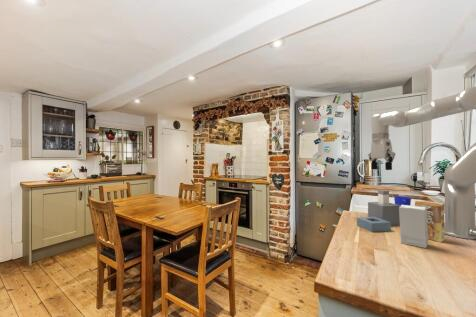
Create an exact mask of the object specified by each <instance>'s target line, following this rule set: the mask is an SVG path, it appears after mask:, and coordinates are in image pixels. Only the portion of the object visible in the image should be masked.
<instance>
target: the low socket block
mask: <svg viewBox="0 0 476 317" xmlns="http://www.w3.org/2000/svg"><path fill="white" fill-rule="evenodd" d="M356 226H358V227H360V228H361V229H364V230H366V231H369V232H371V233H374V232H375V233H376V232H377V233H378V232H391V231H392V226H391V222H388V221H386V220H383V219H380V218H377V217H368V216H364V217H363V216H362V217H361V216H359V217H356Z"/></svg>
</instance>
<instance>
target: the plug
mask: <svg viewBox="0 0 476 317" xmlns="http://www.w3.org/2000/svg"><path fill="white" fill-rule="evenodd" d="M377 202H378V204H382V205H389V203H390V190H386V189H378V190H377Z"/></svg>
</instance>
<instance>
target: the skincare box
mask: <svg viewBox="0 0 476 317" xmlns="http://www.w3.org/2000/svg"><path fill="white" fill-rule="evenodd" d="M399 216H400V225H399V230H400V231H399V236H400V244H404V245H409V246H415V247H419V248H425V249H426V248H428V245H429V239H428V229H427V210H426V207H420V206H415V205H410V206H409V205H401V206H400V207H399Z"/></svg>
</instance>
